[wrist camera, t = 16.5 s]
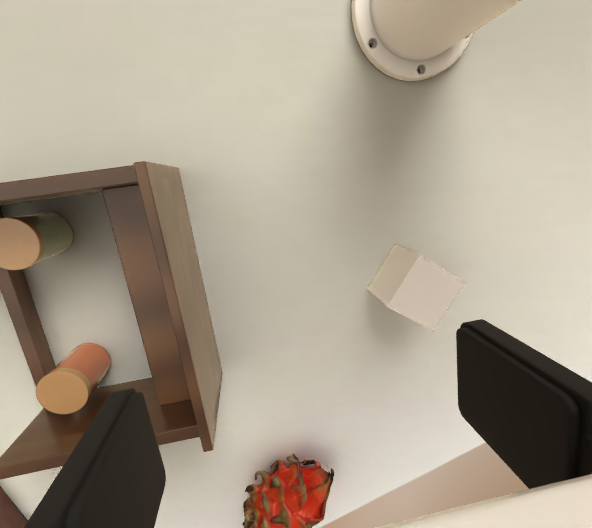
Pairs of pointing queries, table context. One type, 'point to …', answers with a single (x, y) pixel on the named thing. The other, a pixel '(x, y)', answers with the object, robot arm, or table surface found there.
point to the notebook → (10, 513)
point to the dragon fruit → (288, 496)
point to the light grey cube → (415, 287)
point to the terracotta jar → (73, 379)
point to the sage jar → (32, 239)
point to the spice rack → (147, 305)
